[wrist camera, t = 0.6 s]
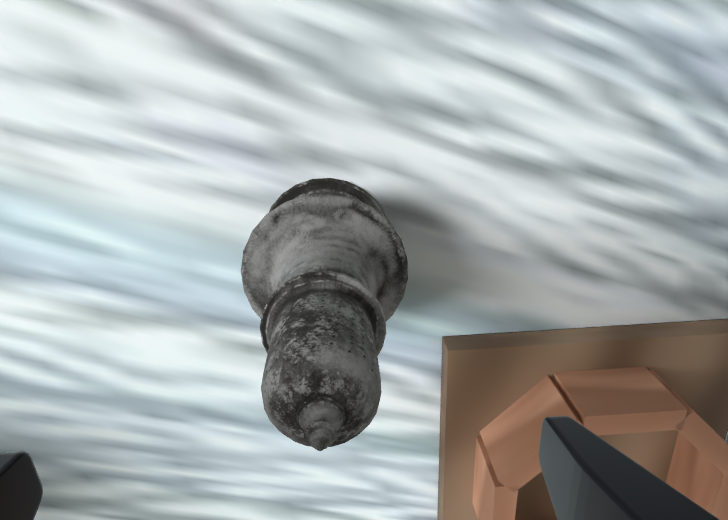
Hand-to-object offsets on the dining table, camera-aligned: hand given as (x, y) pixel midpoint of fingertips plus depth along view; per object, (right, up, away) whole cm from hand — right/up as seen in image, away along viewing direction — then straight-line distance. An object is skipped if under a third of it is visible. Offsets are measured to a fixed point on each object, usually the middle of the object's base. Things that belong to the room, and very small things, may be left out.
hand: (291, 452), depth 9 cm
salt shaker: (0, +4, +12) cm, 13 cm away
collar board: (+12, -6, +17) cm, 22 cm away
